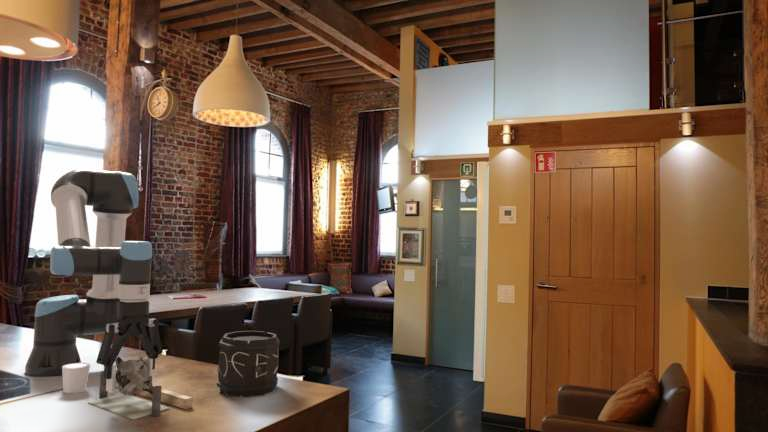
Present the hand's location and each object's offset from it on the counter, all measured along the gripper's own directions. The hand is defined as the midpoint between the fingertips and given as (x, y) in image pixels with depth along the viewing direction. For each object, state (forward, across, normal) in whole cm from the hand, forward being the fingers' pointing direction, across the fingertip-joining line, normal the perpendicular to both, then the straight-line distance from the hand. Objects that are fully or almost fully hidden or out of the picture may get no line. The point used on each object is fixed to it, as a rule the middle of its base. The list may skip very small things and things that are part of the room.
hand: (129, 387), depth 140 cm
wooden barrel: (+5, +30, -12) cm, 33 cm away
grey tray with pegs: (+5, +2, 0) cm, 5 cm away
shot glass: (+5, -1, +24) cm, 25 cm away
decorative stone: (+1, 0, -1) cm, 1 cm away
